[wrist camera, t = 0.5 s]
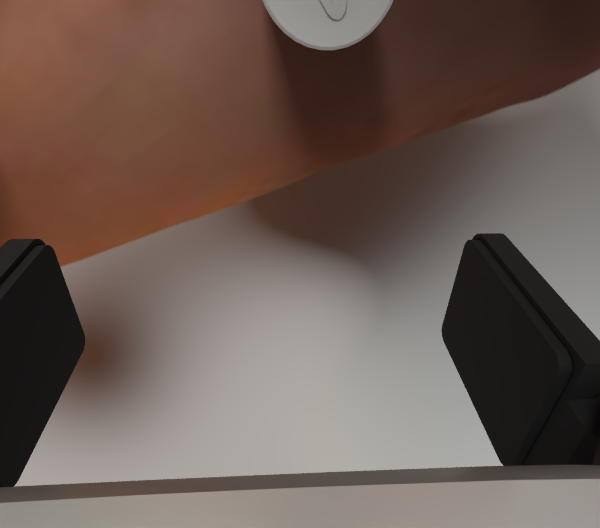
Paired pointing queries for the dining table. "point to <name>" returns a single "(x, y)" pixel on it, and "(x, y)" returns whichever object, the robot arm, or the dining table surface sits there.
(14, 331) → the robot arm
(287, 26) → the canned food
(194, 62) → the dining table surface
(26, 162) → the dining table surface
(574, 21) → the dining table surface
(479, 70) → the dining table surface
